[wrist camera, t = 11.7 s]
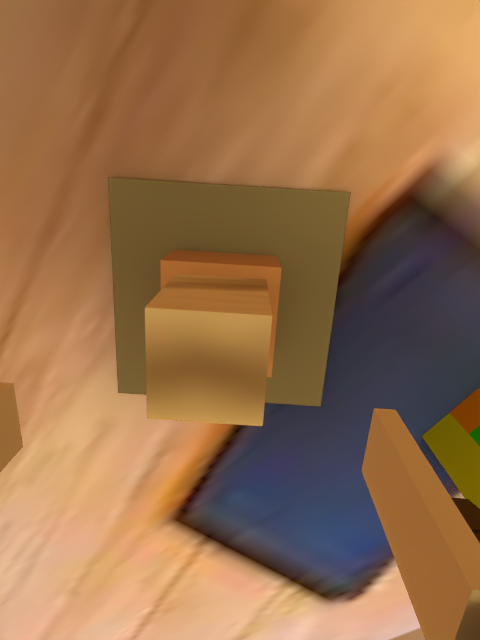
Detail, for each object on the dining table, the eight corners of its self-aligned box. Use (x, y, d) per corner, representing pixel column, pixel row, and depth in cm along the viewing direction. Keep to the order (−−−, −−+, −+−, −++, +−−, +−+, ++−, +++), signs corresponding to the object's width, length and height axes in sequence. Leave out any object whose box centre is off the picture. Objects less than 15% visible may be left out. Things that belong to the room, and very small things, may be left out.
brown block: (176, 273, 26) (144, 307, 18) (266, 279, 26) (272, 315, 18) (175, 356, 28) (147, 418, 20) (259, 361, 28) (262, 426, 20)
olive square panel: (112, 177, 30) (108, 177, 29) (347, 192, 29) (350, 192, 29) (121, 387, 35) (118, 392, 34) (318, 400, 35) (320, 406, 34)
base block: (174, 249, 30) (160, 260, 25) (277, 255, 30) (281, 267, 25) (174, 344, 33) (161, 369, 28) (268, 350, 33) (271, 377, 28)
